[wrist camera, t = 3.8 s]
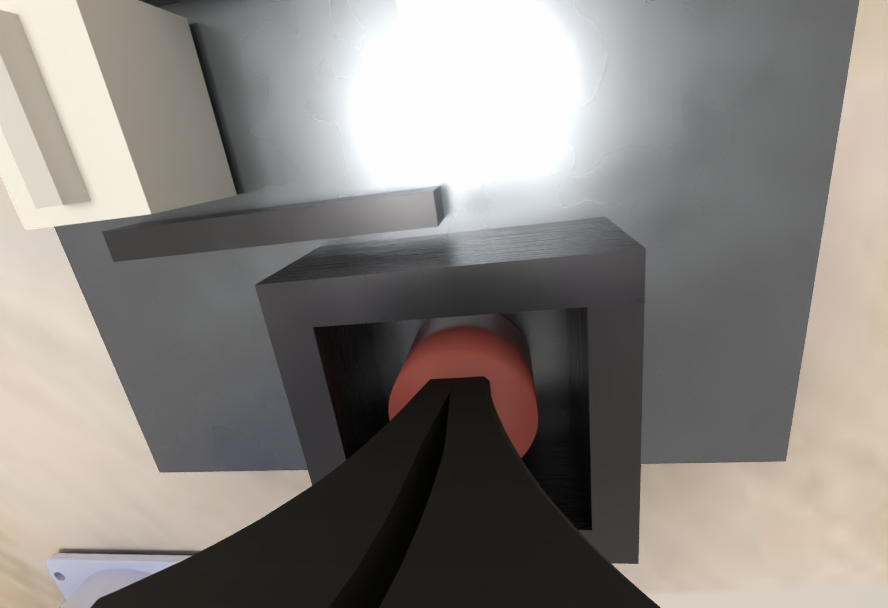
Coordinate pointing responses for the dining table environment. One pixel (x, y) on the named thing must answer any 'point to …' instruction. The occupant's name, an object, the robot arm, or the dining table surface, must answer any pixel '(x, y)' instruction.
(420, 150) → the panel
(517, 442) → the button
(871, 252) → the dining table surface
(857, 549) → the dining table surface
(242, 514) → the dining table surface
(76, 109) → the sliding toggle
